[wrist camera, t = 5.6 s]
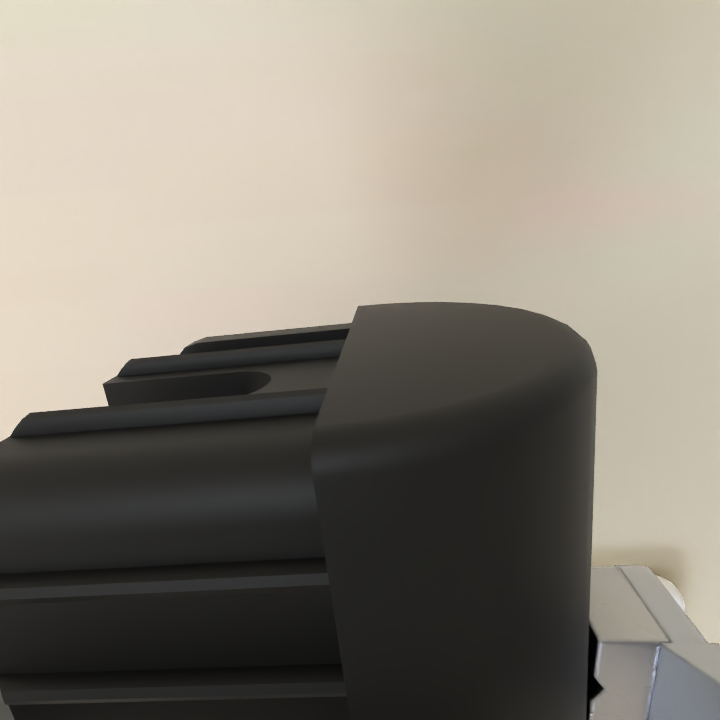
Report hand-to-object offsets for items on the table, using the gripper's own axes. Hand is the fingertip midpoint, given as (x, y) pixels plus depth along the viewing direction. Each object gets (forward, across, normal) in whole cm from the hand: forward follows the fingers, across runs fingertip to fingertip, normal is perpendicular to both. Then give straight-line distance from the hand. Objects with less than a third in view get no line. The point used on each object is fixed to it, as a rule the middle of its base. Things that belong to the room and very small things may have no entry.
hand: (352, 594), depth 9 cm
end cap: (+3, 0, 0) cm, 3 cm away
